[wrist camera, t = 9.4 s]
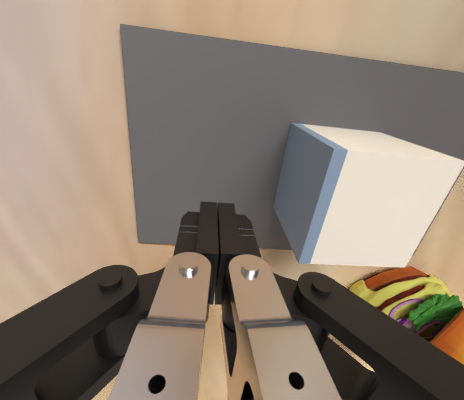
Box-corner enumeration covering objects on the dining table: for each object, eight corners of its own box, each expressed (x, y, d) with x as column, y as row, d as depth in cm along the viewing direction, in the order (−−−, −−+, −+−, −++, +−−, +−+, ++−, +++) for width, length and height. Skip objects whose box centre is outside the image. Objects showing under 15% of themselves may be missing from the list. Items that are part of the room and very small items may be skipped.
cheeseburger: (372, 248, 24) (490, 349, 16) (430, 254, 28) (546, 335, 20) (323, 315, 28) (396, 423, 20) (381, 311, 32) (460, 397, 24)
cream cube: (291, 122, 17) (380, 132, 18) (273, 206, 20) (349, 211, 21) (334, 148, 11) (466, 161, 12) (298, 263, 14) (404, 267, 15)
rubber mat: (510, 80, 17) (514, 79, 17) (411, 253, 24) (413, 255, 24) (121, 24, 14) (120, 23, 14) (139, 240, 22) (138, 242, 21)
